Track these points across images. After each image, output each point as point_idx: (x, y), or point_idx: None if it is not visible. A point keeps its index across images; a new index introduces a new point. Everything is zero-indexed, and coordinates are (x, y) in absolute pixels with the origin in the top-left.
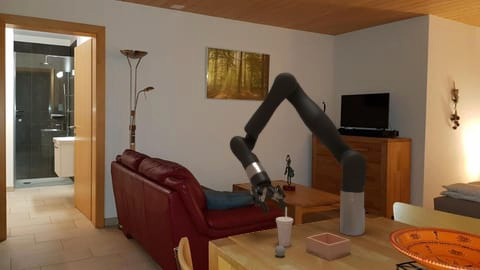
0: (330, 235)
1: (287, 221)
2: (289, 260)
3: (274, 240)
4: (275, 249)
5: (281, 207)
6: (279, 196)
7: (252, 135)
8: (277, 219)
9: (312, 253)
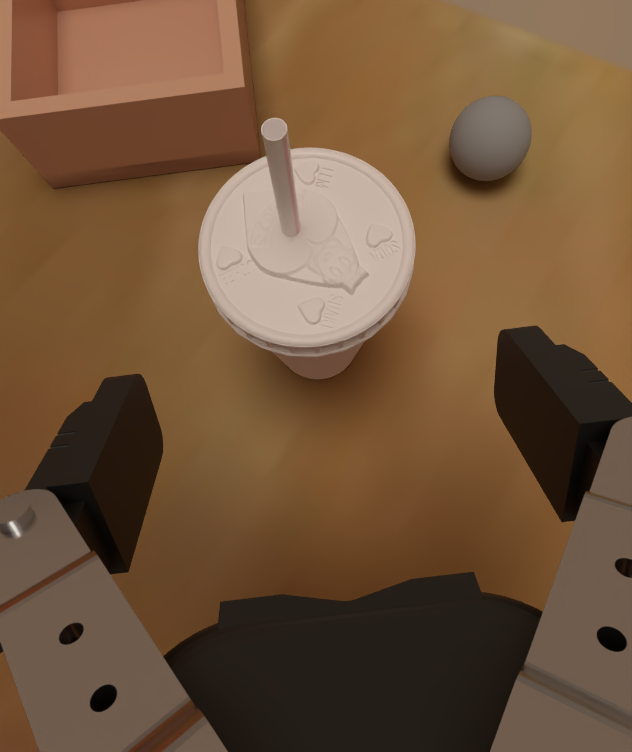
0: (16, 81)
1: (332, 152)
2: (462, 83)
3: (325, 473)
4: (530, 137)
5: (151, 471)
6: (56, 544)
7: None
8: (396, 267)
9: (255, 108)
